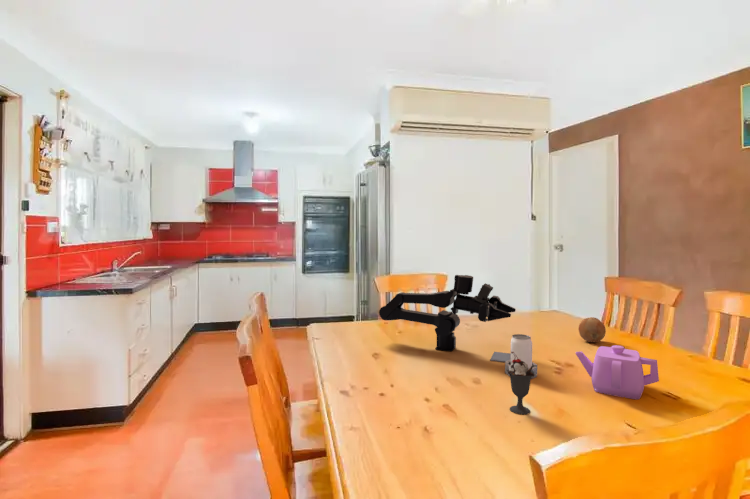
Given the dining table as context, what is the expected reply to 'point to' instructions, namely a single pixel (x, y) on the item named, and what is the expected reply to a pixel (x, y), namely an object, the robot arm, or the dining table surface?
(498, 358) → the mat
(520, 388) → the sundae
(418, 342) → the dining table surface
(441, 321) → the robot arm
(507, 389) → the dining table surface
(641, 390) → the teakettle
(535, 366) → the holder
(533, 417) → the dining table surface
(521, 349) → the can
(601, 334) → the coconut
